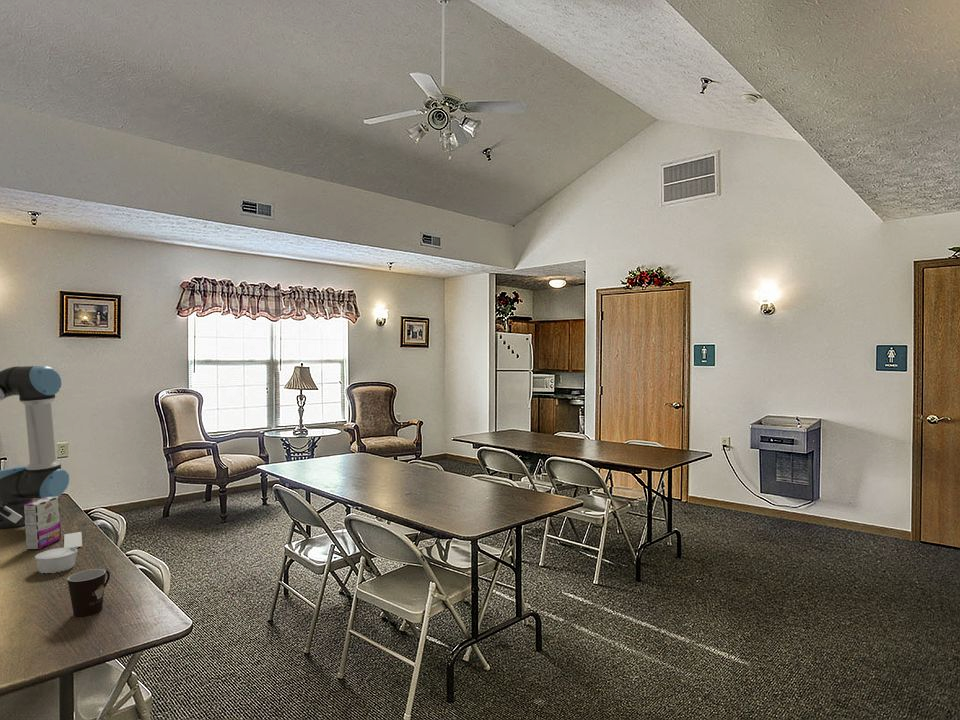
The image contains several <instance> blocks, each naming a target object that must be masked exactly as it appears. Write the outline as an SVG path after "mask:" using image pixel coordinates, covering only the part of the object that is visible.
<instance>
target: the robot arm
mask: <svg viewBox="0 0 960 720" xmlns="http://www.w3.org/2000/svg"><path fill="white" fill-rule="evenodd" d="M60 375H61V374H59V373H58V371H57V370H55V369H54V368H53V367H51V366H43V365H32V366H31V365H30V366H25V365H24V366H18V365H17V366H11V367H8V368H4V369H2V370H0V402H2V401H3V400H5V399H7V398H8V397H12V396H18V397H19V402H20V403H22V404H23V405H24V410H25V412H24V413H25V422H26V432H27V444H28V445H27V446H28V456H29V464H26V465H25V464H24V465H18V466H14V467H8V468H3V469H0V529H8V528H9V529H10V528H16V527H18V528H19V527H23V526H25V515H24V505H26V504H29V503H32V502H34V499H43V498H46V497H60V496H61V495H63V494H64V493H65V491H66V490H67V488H68V486H69V484H70V474H69V473H68V471H67V470H65V469H64V468H63V469H62V463H61V462H60V461H59V460H57V456H56V455H57V454H56V446H55V432H54V423H53V419H54V418H53V409H52V402H53V401H54V400H55V399H56V394H58V392H60V389H61V388H62V379H61V376H60Z"/></svg>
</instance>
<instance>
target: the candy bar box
mask: <svg viewBox="0 0 960 720" xmlns="http://www.w3.org/2000/svg"><path fill="white" fill-rule="evenodd" d="M24 515H25V525H24V526H25V528H24V530H25V546H26V550H27V549H40V550H41V548H42V549H43V547H44V548H46V547H48V546H50V544H51V545H52V543H53V544H55V543H57V542H59V541H61V540H62V532H61V531H62V529H61V511H60V496H58V497H46V498H39V499H38V500H33V502H32V503H29V504H26V505H24ZM60 539H61V540H60ZM58 540H59V541H58ZM56 541H57V542H56ZM54 542H55V543H54ZM47 545H48V546H47ZM45 546H46V547H45Z"/></svg>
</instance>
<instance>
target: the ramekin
mask: <svg viewBox="0 0 960 720" xmlns="http://www.w3.org/2000/svg"><path fill="white" fill-rule="evenodd" d="M78 552H79V551H78V548H72V547H64V546H63V547H57V548H52V549H47V550H45V551H44V550H43V551H42V552H39V553H37V554H35V555H34V560H35V562H36V563H35V564H36V567H37V568H36V569H37V571H38V572H39V573H40V574H43V573H46V575H48V574H47V573H52V574H56V572H58V573H61V571H62V572H65V571H68V570H70V569H72V568H73V567H74V566H75V564H76V559H77V555H78Z"/></svg>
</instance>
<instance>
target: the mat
mask: <svg viewBox="0 0 960 720" xmlns="http://www.w3.org/2000/svg"><path fill="white" fill-rule="evenodd" d="M82 534H83V533H82V531H78V532H71V533H66V534H63V536H64V537H63V547H72V548H76V549H79V548H78V547H81V548H83V536H82Z"/></svg>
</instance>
